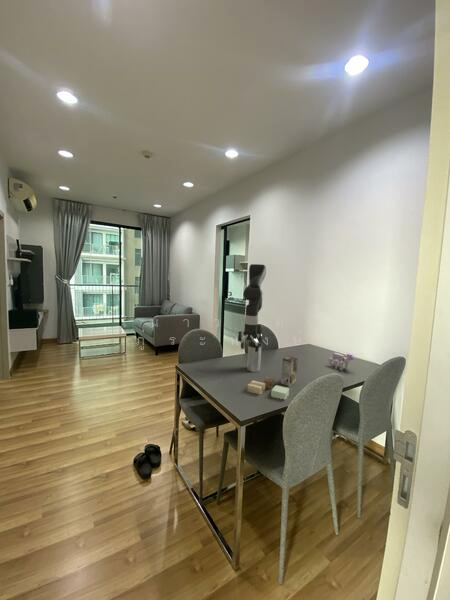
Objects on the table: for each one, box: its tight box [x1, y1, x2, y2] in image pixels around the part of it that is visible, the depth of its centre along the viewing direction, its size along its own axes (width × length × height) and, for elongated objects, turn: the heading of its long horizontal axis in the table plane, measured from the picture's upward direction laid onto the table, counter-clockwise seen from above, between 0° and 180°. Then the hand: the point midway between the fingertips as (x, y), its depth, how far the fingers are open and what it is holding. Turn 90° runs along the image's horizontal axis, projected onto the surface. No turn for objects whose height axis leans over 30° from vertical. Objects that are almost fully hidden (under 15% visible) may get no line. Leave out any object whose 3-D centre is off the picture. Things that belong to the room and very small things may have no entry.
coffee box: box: [280, 355, 298, 387], centre depth 167 cm, size 9×6×16 cm
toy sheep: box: [328, 352, 357, 372], centre depth 198 cm, size 20×11×14 cm, turn 34°
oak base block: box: [246, 380, 266, 395], centre depth 154 cm, size 8×8×4 cm
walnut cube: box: [263, 376, 275, 390], centre depth 160 cm, size 5×5×5 cm
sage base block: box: [270, 384, 290, 401], centre depth 149 cm, size 8×8×4 cm
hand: (249, 350), depth 152 cm, fingers open, 8 cm apart
